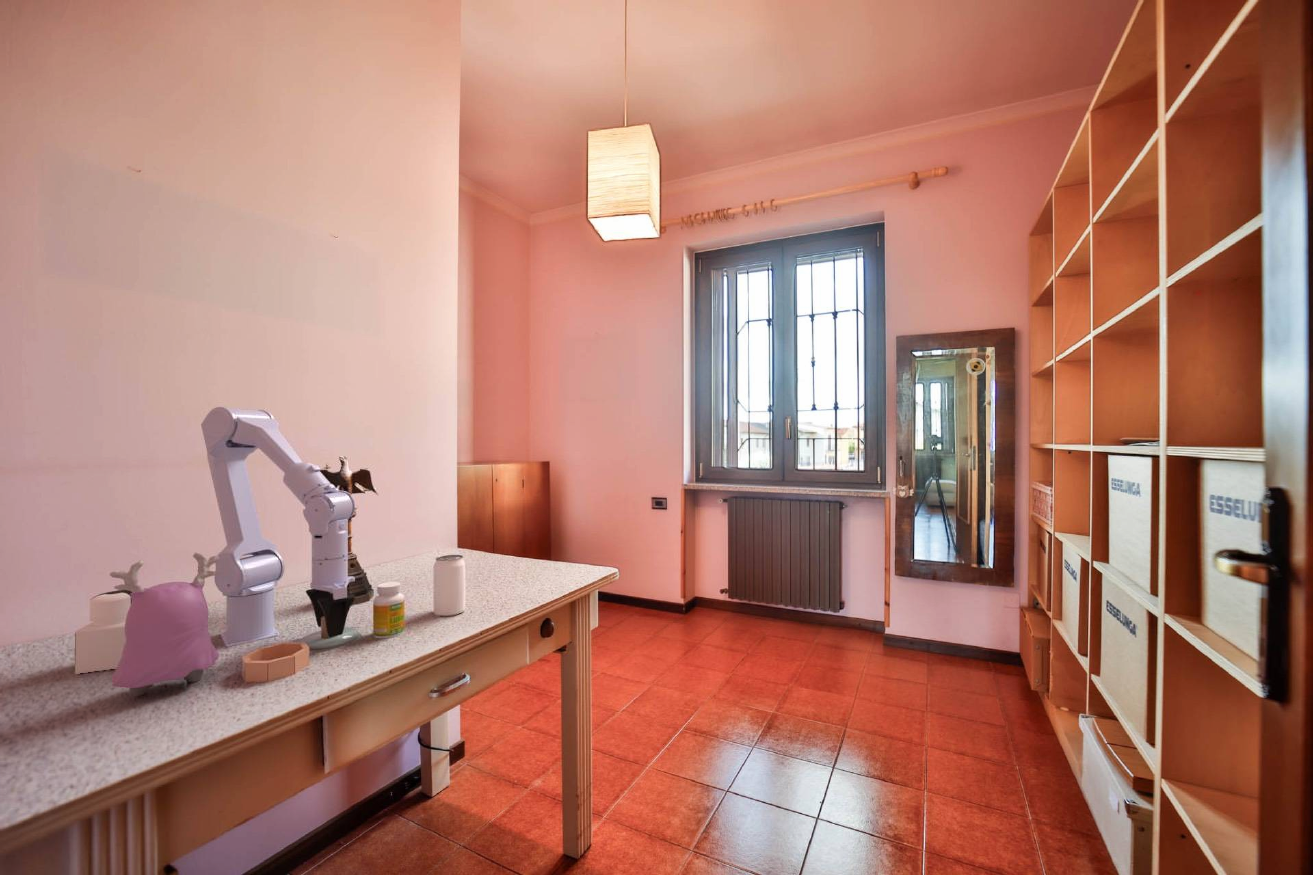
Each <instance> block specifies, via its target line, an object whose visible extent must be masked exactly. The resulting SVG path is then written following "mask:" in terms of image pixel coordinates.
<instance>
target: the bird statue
mask: <svg viewBox="0 0 1313 875" xmlns="http://www.w3.org/2000/svg"><path fill="white" fill-rule="evenodd" d="M338 460H339V462H340V465H341V466H340V468H339V471H333V470H330V469H331V468H332V467H331V466H329V463H328V462H326V465H325V466H324V468H320V469H321V470H320V472H321V473H322V474H323V475H324V477H325V478H326V479H327V480H328V481H329V482H330V483H331V484H333V485H334V486H335V488H337V489H338V490H340V491H346V492H348V493H350V495H351V496H352V495H355V494H366V492H373V493H375V494H376V495H377V496H378V495H379V494H378V492H377V487H375V486H374V485H373V480H372V473H371V471H370V469H369V468H368V467H367V468H365V467H361V468H359V470H355V471H352V470H350V468H349V460H348V457H346V456H345V455H339V456H338ZM358 485H359V486H358ZM360 486H361V487H360ZM357 508H358V505H356V504H355V511H354V513H353V515H352V516H351V518H349V519H348V577H349V576H353V577H355V581H353V582H349V583H348V585H347V595H352V594H353V595H354V596H355V600H354V602H353V603H352V605H351V607H352V606H355V605H358V604H362V603H367V602H369V601H370V600H371V599H372V598H373V597H374V588H373V585H372V584H371V583H370V581H369V579H368V578H369V577H368V576H367V572H366V571H365V568H362V566H361V564H360V562H359V561H358V559H357V558H358V555H356V554H357V553H354V552H353V551H352V544H353V543H352V538H353V537H354V536H353V535H352V521H353V518H355V517H356V516H357Z"/></svg>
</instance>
